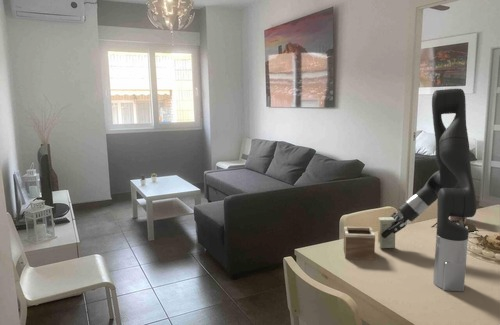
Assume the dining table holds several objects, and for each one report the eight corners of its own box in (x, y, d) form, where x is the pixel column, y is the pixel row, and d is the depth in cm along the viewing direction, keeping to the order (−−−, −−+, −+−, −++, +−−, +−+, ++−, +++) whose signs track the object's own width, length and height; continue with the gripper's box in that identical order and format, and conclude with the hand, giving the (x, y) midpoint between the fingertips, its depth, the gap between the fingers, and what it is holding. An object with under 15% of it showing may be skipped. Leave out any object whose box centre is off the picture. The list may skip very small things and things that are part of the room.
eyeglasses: (478, 237, 167) (478, 226, 167) (446, 238, 167) (447, 227, 166) (458, 226, 182) (459, 216, 181) (429, 227, 181) (429, 217, 180)
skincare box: (392, 244, 157) (393, 216, 156) (395, 248, 153) (396, 219, 151) (377, 244, 158) (377, 216, 156) (379, 248, 154) (380, 219, 152)
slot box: (374, 260, 144) (375, 235, 143) (345, 258, 146) (345, 234, 145) (370, 249, 154) (371, 227, 153) (343, 248, 156) (344, 226, 154)
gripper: (402, 196, 158) (372, 223, 162) (411, 205, 144) (377, 234, 148) (415, 209, 158) (384, 235, 162) (424, 219, 144) (391, 247, 148)
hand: (381, 234), depth 155 cm, fingers closed on skincare box, 4 cm apart
